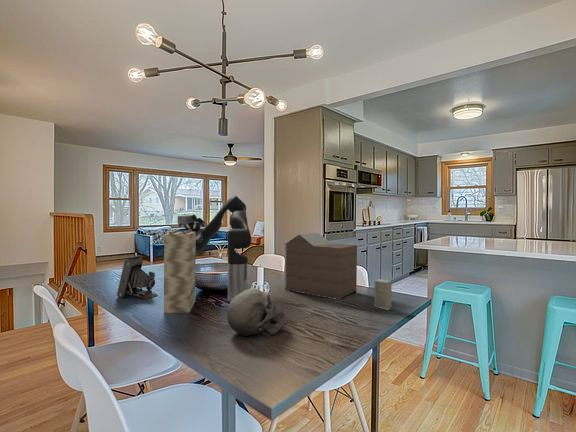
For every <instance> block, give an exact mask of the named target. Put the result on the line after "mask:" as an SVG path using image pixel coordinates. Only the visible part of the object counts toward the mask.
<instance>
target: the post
mask: <svg viewBox="0 0 576 432" xmlns="http://www.w3.org/2000/svg"><path fill="white" fill-rule="evenodd" d="M163 239H164V240H163V242H164V243H163V245H164V247H163V251H164V252H163V314H182V313H184V314H185V313H190V312H191V310H192V309H193V307H194V304H195V303H196V256H197V255H196V252H197V251H196V232H192V229H189V230H187V231H186V230H184V231H180V229H174V230H171V231H168V232H167V233H164V234H163Z"/></svg>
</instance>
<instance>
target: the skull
mask: <svg viewBox="0 0 576 432" xmlns="http://www.w3.org/2000/svg"><path fill="white" fill-rule="evenodd" d="M226 314H227V315H226V317H227V319H226V320H227V322H228V325H229V326H230V328H231V329H232V330H233V331H234V332H235V333H237V334H239V335H241V336H243V337H248V336H251V335H259V334H260V330H264V331H265V332H266V333H268V334H269V335H270V336H274V335H277V333H278V332H279V331H280V330H281V329H283V327H284V326H286V325H287V324H288V317H286V315H285V313H284V309H283V308H282V307H280V305H278V304H277V305H275V302H274V298H270V295H269V294H268V293H267V292H266V291H262V290H260V289H259V288H256V287H255V288H254V287H252V288H249V289H248V290H245V291H243V292H242V293H240V294H238V295H237V296H235V297H234V298H233V299H232V300H231V301H229V304H228V307H227V313H226Z"/></svg>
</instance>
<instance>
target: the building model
mask: <svg viewBox="0 0 576 432" xmlns="http://www.w3.org/2000/svg"><path fill="white" fill-rule="evenodd" d="M283 246H284V250H285V251H284V254H285V255H284V257H285V258H284V260H285V261H284V262H285V263H284V290H285V289H287V290H286V291H289V290H293V291H292V292H294V291H299V292H298V293H300V292H304V293H303V294H305V293H309V294H308V295H310V294H314V295H313V296H315V295H320V296H326V297H331V298H336V299H340V300H341V298H344V297H346V296H347V295H350V294H352V293H355V292H354V291H356V292H357V284H358V283H357V281H358V280H357V276H358V274H357V273H358V272H357V271H358V270H357V269H358V264H357V263H358V245H357V244H345V243H336V242H335V243H333V242H330V241H329V240H328V239H327V238H325V237H324V236H323V235H321V234H320V233H319V232H312V233H300V234H299V233H298V234H297V236H295V237H293V238H292V239H290V240H289V241H287V242H285V243H283ZM320 296H319V297H320ZM331 298H330V299H331ZM336 299H335V300H336Z"/></svg>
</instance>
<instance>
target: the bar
mask: <svg viewBox="0 0 576 432" xmlns="http://www.w3.org/2000/svg"><path fill="white" fill-rule="evenodd" d="M192 222H194V221H193V214H186V215H184V214H182V215H178V216H177V224H178V225H179V224H188V223H192Z"/></svg>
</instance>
